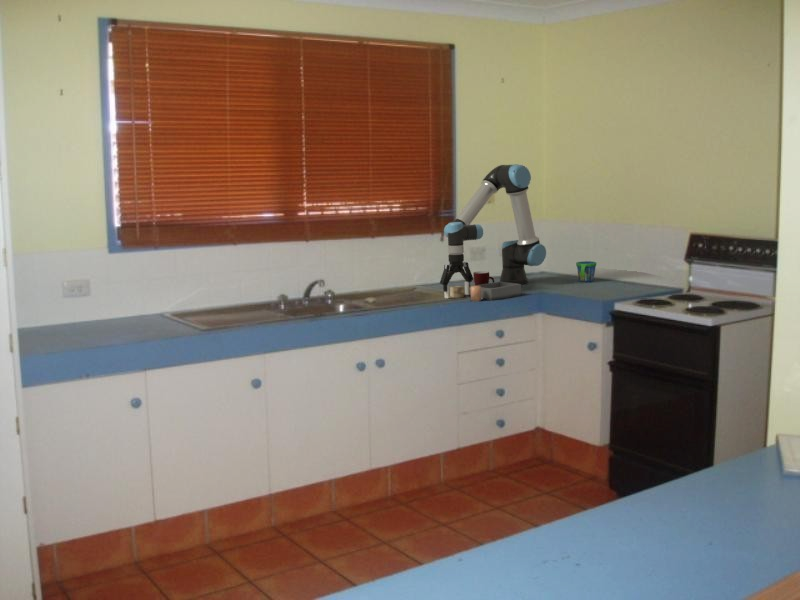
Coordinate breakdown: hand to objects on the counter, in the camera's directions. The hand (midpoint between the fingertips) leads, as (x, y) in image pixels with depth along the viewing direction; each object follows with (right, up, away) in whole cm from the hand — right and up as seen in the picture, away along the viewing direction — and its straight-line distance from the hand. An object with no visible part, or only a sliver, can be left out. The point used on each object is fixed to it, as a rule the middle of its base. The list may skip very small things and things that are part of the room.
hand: (457, 296), depth 446 cm
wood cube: (0, 0, 0) cm, 0 cm away
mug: (+15, +2, +14) cm, 20 cm away
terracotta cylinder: (+8, -2, -14) cm, 16 cm away
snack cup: (+71, +8, +34) cm, 79 cm away
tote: (+19, 0, -3) cm, 19 cm away
